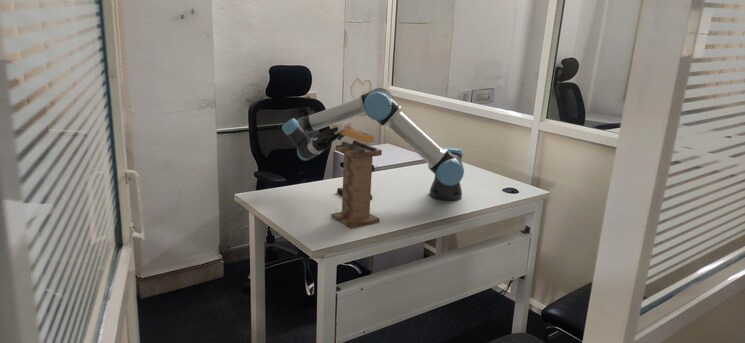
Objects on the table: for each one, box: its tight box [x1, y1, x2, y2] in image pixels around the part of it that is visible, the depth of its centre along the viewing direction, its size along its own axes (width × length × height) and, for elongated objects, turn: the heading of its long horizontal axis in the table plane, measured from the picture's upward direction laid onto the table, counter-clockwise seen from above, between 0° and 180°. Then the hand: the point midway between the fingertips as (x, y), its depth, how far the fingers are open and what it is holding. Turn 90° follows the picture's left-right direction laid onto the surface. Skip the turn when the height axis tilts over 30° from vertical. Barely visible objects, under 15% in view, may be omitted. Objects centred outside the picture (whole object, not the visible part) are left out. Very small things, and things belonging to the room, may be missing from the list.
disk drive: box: [336, 187, 373, 201], centre depth 247 cm, size 10×3×15 cm
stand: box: [331, 139, 383, 230], centre depth 214 cm, size 14×14×31 cm
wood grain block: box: [330, 123, 375, 144], centre depth 213 cm, size 24×4×2 cm, turn 37°
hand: (347, 125), depth 214 cm, fingers closed on wood grain block, 3 cm apart
